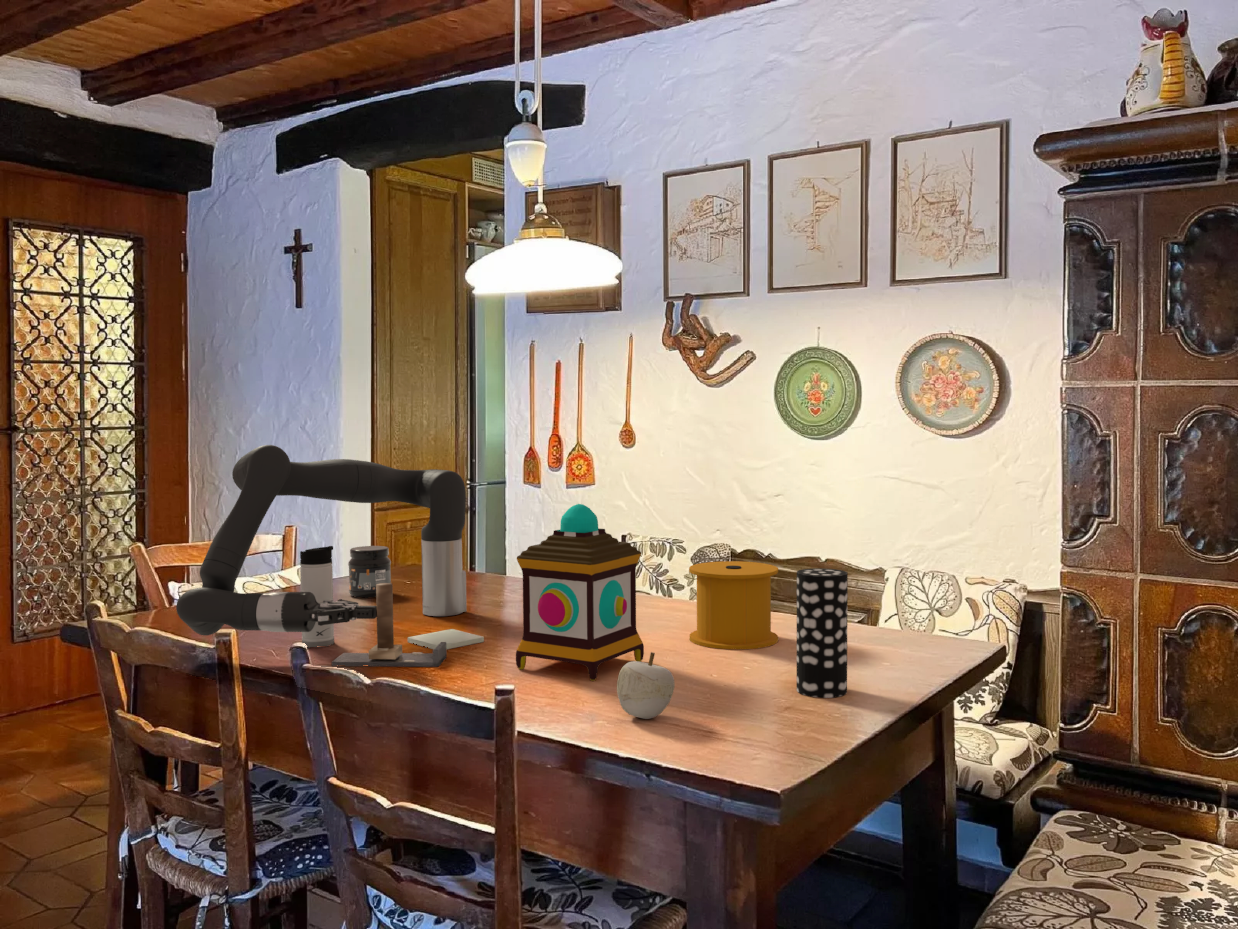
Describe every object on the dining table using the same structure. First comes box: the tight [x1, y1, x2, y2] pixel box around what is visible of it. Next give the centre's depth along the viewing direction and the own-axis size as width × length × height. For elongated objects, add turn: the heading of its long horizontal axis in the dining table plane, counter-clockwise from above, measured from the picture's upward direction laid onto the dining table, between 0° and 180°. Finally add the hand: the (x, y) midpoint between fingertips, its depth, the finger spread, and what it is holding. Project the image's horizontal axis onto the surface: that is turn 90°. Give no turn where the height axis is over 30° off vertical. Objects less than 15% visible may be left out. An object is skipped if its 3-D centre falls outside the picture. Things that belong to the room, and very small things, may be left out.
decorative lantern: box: [515, 503, 645, 682], centre depth 193 cm, size 20×20×30 cm
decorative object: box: [616, 651, 675, 720], centre depth 161 cm, size 9×9×10 cm
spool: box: [688, 560, 779, 650], centre depth 214 cm, size 18×18×15 cm
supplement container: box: [347, 545, 392, 599], centre depth 267 cm, size 10×10×12 cm
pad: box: [407, 628, 485, 650], centre depth 214 cm, size 11×11×1 cm
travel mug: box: [299, 545, 335, 648], centre depth 212 cm, size 6×7×20 cm
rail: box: [331, 642, 448, 668], centre depth 198 cm, size 20×7×3 cm, turn 87°
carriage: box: [368, 582, 403, 659], centre depth 197 cm, size 5×5×14 cm
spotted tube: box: [796, 567, 849, 699], centre depth 175 cm, size 8×8×20 cm
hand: (377, 612), depth 197 cm, fingers closed
